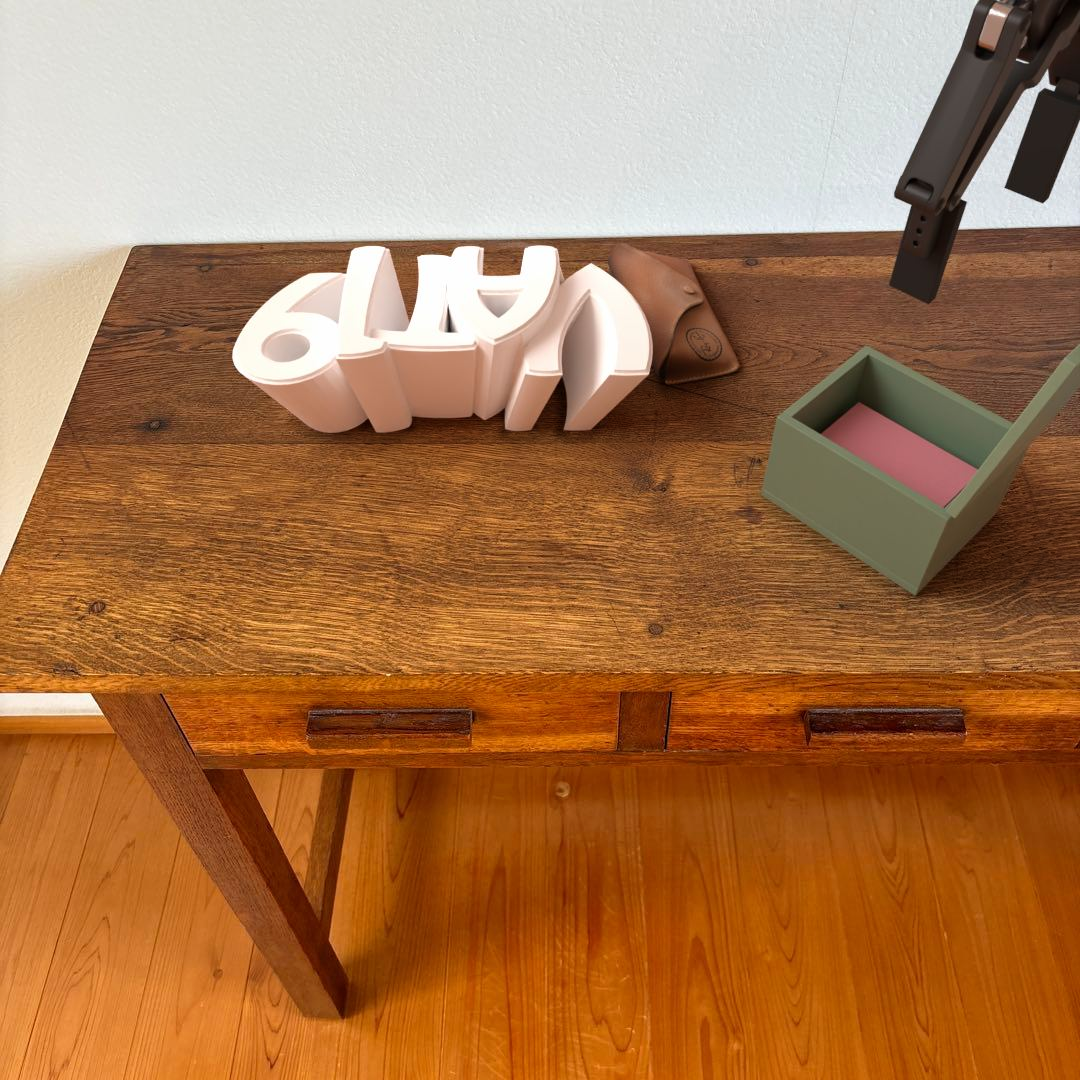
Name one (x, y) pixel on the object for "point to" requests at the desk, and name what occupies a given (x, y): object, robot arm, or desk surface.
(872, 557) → the box
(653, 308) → the sunglasses case
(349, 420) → the wavy white extrusion
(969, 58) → the robot arm
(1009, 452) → the lid
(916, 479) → the pink rectangular block
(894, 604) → the desk surface
